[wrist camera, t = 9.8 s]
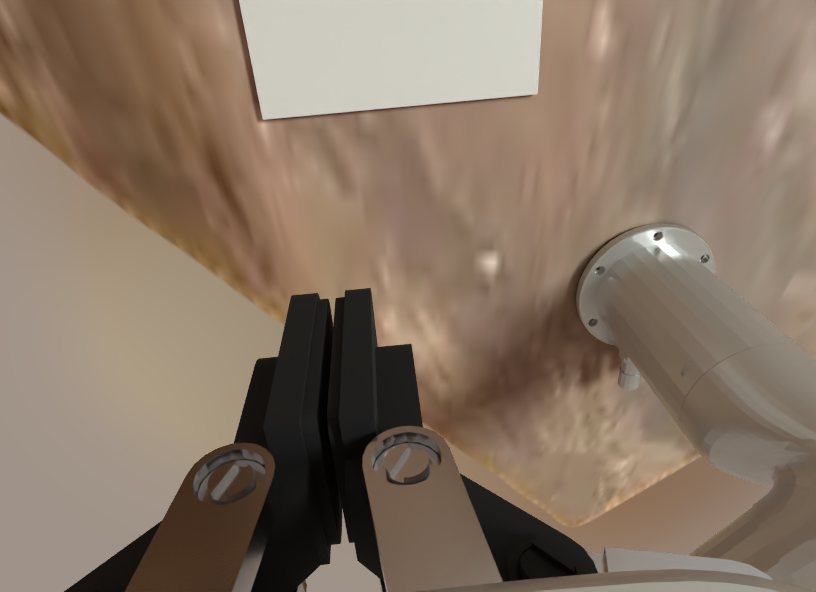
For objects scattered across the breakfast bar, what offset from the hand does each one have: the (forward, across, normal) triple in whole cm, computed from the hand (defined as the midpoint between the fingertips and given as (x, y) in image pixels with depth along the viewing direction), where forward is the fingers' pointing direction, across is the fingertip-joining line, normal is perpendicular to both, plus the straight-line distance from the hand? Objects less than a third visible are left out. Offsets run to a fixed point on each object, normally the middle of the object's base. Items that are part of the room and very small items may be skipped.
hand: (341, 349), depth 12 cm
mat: (+32, -3, -7) cm, 33 cm away
